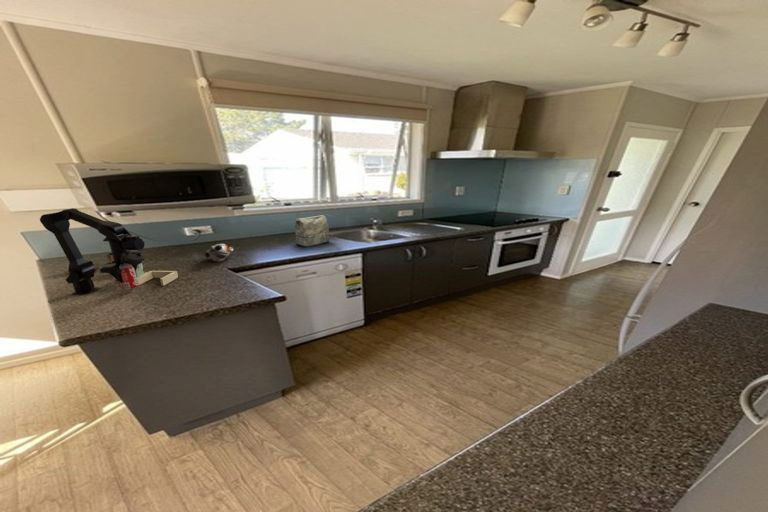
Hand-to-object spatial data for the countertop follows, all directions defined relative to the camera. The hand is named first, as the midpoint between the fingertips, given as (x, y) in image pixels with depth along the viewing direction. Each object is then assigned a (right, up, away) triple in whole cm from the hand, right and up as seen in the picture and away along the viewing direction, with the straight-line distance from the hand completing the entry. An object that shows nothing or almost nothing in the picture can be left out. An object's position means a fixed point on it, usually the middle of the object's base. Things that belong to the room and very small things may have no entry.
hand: (127, 279), depth 142 cm
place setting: (-47, +4, +29) cm, 55 cm away
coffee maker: (-10, -1, +17) cm, 20 cm away
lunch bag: (+70, +22, +92) cm, 117 cm away
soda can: (0, -5, +2) cm, 5 cm away
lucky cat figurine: (+18, +9, +50) cm, 54 cm away
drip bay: (+4, -2, +14) cm, 15 cm away
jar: (-22, +3, +28) cm, 36 cm away
